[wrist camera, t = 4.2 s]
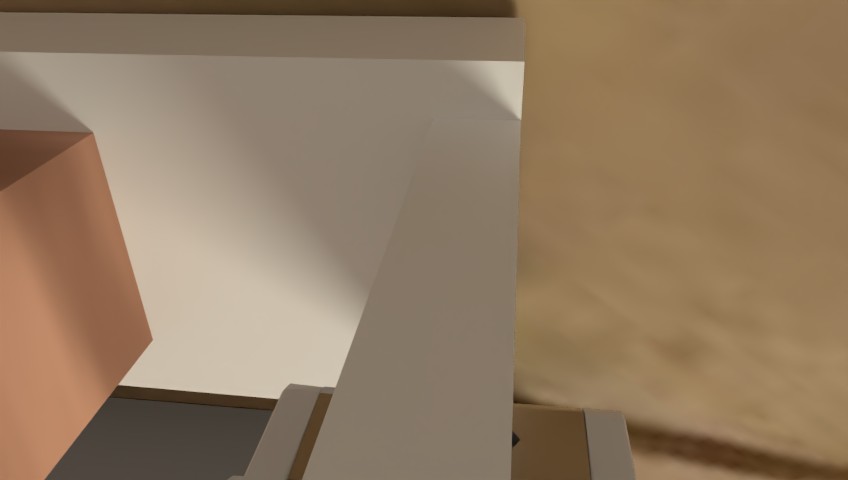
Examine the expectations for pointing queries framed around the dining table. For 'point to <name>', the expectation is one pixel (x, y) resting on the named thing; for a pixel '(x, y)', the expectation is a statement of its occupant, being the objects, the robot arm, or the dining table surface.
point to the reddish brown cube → (59, 297)
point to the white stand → (309, 212)
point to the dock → (163, 442)
